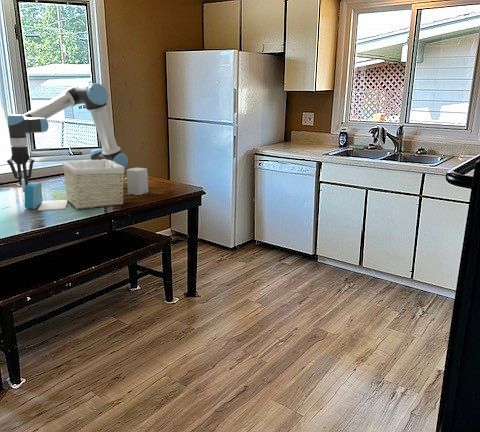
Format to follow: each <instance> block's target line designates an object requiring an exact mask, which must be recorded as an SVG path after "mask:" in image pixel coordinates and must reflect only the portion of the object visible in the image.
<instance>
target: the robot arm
mask: <svg viewBox="0 0 480 432" xmlns="http://www.w3.org/2000/svg"><path fill="white" fill-rule="evenodd" d="M108 98H109V93H108V90H107V89H106V87H105V86H104V85H102V84H100V83H97V82H79V83H76V84H74V85H72V86H70V87H68V88H66V89H65V90H63V91H62V92H61V94H60V95H58V96H56V97H54V98H51V99H50V100H48V101H46V102H44V103H42V104H41V105H39V106H37V107H35V108H33V109H31V110H29V111H28V112H26V113H23V114H8V115H7V127H8V134H9V143H10V146H11V147H10V149H11V150H10V152H11V157H10V158H9V159H7V161H6V163H7V164H8V165H9V167H10V169H11V172H12V174H13V176H14V179H17V180H18V181H19V186H20V187H21V188H22V189H21V190H22V193H24V188H25V186H26V185H28V184H29V180H28V179H31V177H32V174H33V166H34V163H35V158H32V157H31V156H30V155H29V149H28V148H29V147H28V146H27V145H28V140H27V134H35V133H38V134H40V133H45V132H47V131H49V128H50V127H49V122H48V120H47V119H49V118H51V117H52V116H54V115H56V114H59V112H62V111H63V110H65V109H67V108H69V107H75V106H76V105H80V104H84V105H85V108H86V110H87V111H89V112H90V114H91V117H92V120H93V122H94V126H95V129H96V131H97V135H98V139H99V141H100V144H101V147H102V148H97V149H93V150H92V149H91V151H90V157H89V158H90V160H102V159H107V160H111V161H114V162H115V163H117V164H119V165H121V166H123V167H124V170H126V168H127V166H128V163H129V158H128V156H127V155H126V154H125V153H123V151H122V148H121V146H118V144H117V141H116V138H115V135H114V132H113V131H114V130H113V128H112V126H111V122H110V119H109V115H108V112H107V109H106V107H107V105H108V103H107V102H108ZM28 162H29V167H28V169H27V163H28ZM14 164H15V165H16V167H17V170H16V167H15V165H14ZM22 170H23V171H22ZM27 170H28V171H27ZM22 172H23V175H22Z"/></svg>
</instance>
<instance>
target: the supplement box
mask: <svg viewBox="0 0 480 432" xmlns="http://www.w3.org/2000/svg"><path fill="white" fill-rule="evenodd" d="M125 170H126V183H127V186H126V187H127V195H130V194H134V195H133V196H137V195H141V194H144V193H146V194H148V193H147V192H149V175H148V168H145V167H144V168H143V167H131V168H128V169H125ZM144 195H145V194H144ZM141 196H142V195H141Z"/></svg>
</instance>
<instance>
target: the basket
mask: <svg viewBox="0 0 480 432" xmlns="http://www.w3.org/2000/svg"><path fill="white" fill-rule="evenodd" d="M62 167H63V173H64V182H65V183H64V186H65V195H66V197H65V200H68V202H69V203H70V204H72V206H73V207H75V208H76V209H86V208H91V209H92V208H96V207H107V206H108V207H110V206H116V205H118V206H119V205H123V204H124V173H125V169H124V167H123V166H121V165H119V164H117V163H115V162H114V161H111V160H107V159H102V160H91V159H88V160H76V161H74V160H73V161H62Z"/></svg>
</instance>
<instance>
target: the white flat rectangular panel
mask: <svg viewBox="0 0 480 432" xmlns="http://www.w3.org/2000/svg"><path fill="white" fill-rule="evenodd" d="M68 202H69V201H68V200H67V199H59V200H57V199H56V200H42V202H41V204H40V205H39V206H38V209H37V211H38V212H41V211H44V210H45V211H57V210H58V211H59V210H66V208H67V205H68Z"/></svg>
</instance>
